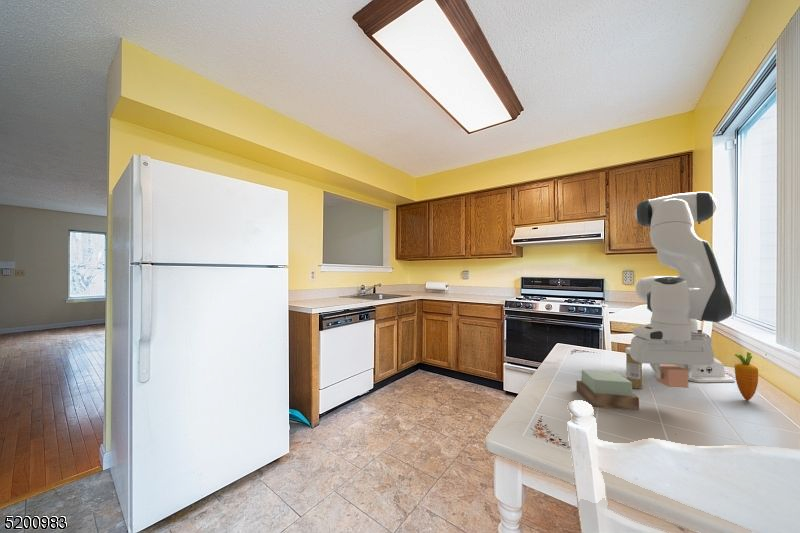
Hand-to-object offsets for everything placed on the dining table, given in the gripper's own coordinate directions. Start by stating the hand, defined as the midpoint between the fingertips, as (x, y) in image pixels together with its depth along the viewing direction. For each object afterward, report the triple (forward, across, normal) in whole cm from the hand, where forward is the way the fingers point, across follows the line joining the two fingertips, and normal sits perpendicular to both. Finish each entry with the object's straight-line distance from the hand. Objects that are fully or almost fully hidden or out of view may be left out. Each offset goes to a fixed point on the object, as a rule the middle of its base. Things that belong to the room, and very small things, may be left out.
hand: (671, 378), depth 87 cm
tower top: (+5, +16, -4) cm, 17 cm away
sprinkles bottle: (+9, 0, -16) cm, 19 cm away
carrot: (+10, -28, -9) cm, 31 cm away
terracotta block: (+2, 0, 0) cm, 2 cm away
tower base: (+9, +16, -3) cm, 19 cm away
